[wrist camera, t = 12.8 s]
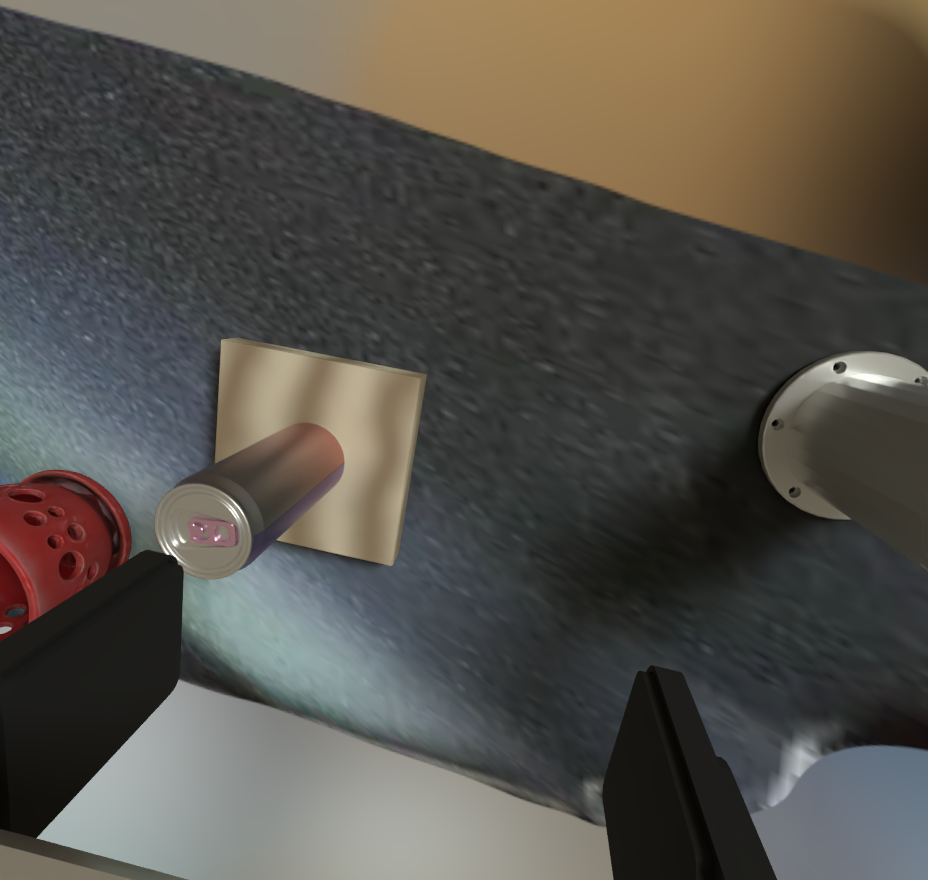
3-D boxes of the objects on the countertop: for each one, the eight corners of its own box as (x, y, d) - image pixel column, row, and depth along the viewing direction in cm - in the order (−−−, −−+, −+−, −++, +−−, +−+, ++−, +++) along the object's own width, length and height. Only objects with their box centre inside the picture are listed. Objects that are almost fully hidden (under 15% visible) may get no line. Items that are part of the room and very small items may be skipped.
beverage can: (347, 495, 44) (256, 589, 29) (277, 487, 44) (154, 576, 30) (347, 423, 42) (252, 486, 28) (275, 417, 43) (145, 475, 29)
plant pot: (-5, 495, 51) (-162, 551, 40) (96, 437, 48) (-41, 480, 37) (73, 608, 53) (-54, 692, 42) (175, 560, 50) (69, 636, 39)
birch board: (426, 374, 43) (420, 378, 41) (398, 553, 47) (391, 566, 45) (237, 337, 44) (221, 339, 42) (226, 515, 48) (211, 525, 46)
